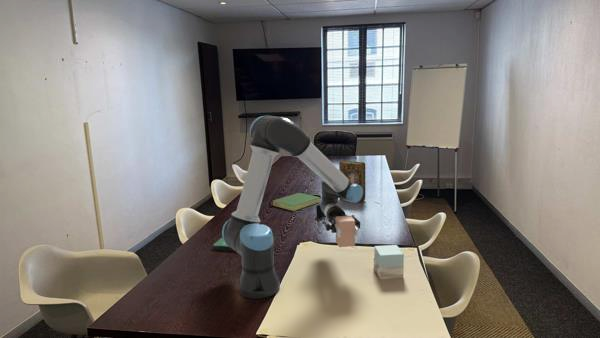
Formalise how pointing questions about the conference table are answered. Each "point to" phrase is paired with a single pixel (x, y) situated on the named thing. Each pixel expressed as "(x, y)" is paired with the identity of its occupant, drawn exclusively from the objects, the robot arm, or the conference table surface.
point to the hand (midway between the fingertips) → (348, 233)
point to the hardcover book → (296, 201)
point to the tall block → (346, 231)
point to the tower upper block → (389, 256)
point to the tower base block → (388, 271)
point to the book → (354, 174)
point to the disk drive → (221, 245)
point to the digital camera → (319, 211)
